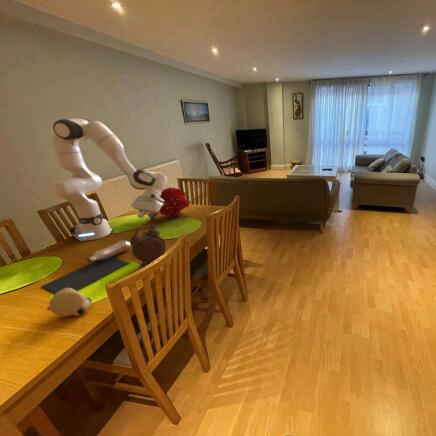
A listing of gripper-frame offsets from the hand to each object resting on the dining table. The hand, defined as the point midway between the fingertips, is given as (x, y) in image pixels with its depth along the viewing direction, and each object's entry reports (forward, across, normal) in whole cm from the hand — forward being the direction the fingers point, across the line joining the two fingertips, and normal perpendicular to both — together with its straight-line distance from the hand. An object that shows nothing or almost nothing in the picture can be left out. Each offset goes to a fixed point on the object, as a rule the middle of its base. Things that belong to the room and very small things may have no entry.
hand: (139, 217), depth 142 cm
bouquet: (-13, -19, +36) cm, 43 cm away
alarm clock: (+22, +25, 0) cm, 33 cm away
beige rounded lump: (+48, +29, -26) cm, 62 cm away
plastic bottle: (+16, +1, +1) cm, 16 cm away
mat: (+36, +6, -14) cm, 39 cm away
